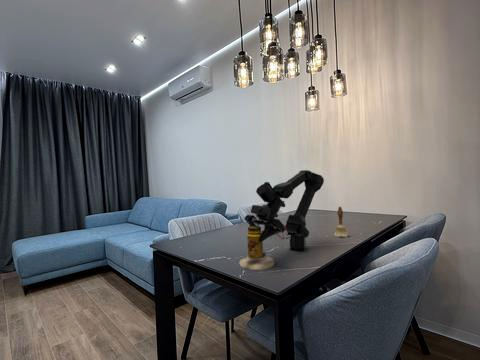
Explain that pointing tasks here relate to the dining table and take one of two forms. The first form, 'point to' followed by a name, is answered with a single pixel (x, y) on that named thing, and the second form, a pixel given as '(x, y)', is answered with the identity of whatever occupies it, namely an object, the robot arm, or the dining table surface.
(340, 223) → the hand bell
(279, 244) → the dining table surface
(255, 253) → the condiment
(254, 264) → the beige round plate
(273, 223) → the robot arm
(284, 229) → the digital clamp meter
